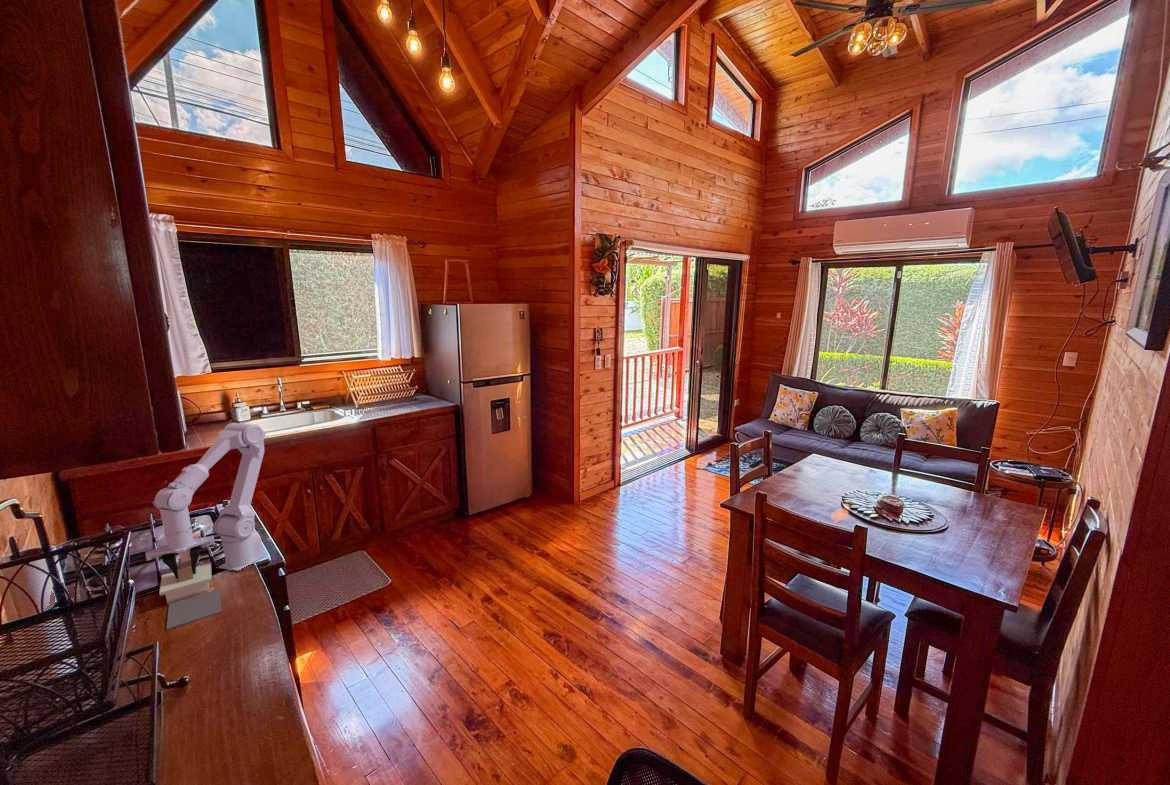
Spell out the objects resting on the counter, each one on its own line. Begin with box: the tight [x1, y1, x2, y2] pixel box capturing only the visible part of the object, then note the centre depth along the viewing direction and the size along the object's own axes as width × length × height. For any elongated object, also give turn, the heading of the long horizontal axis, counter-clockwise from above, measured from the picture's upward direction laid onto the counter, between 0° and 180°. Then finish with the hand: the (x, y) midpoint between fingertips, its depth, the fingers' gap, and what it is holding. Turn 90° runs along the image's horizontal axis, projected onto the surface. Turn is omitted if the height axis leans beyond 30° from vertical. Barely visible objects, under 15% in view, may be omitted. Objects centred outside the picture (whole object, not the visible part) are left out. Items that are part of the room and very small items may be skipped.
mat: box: [166, 588, 222, 631], centre depth 128 cm, size 13×11×1 cm
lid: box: [159, 560, 213, 597], centre depth 135 cm, size 11×11×4 cm
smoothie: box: [178, 532, 202, 563], centre depth 148 cm, size 6×6×14 cm
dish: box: [164, 582, 210, 605], centre depth 136 cm, size 9×9×4 cm
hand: (186, 574), depth 136 cm, fingers closed on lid, 3 cm apart
